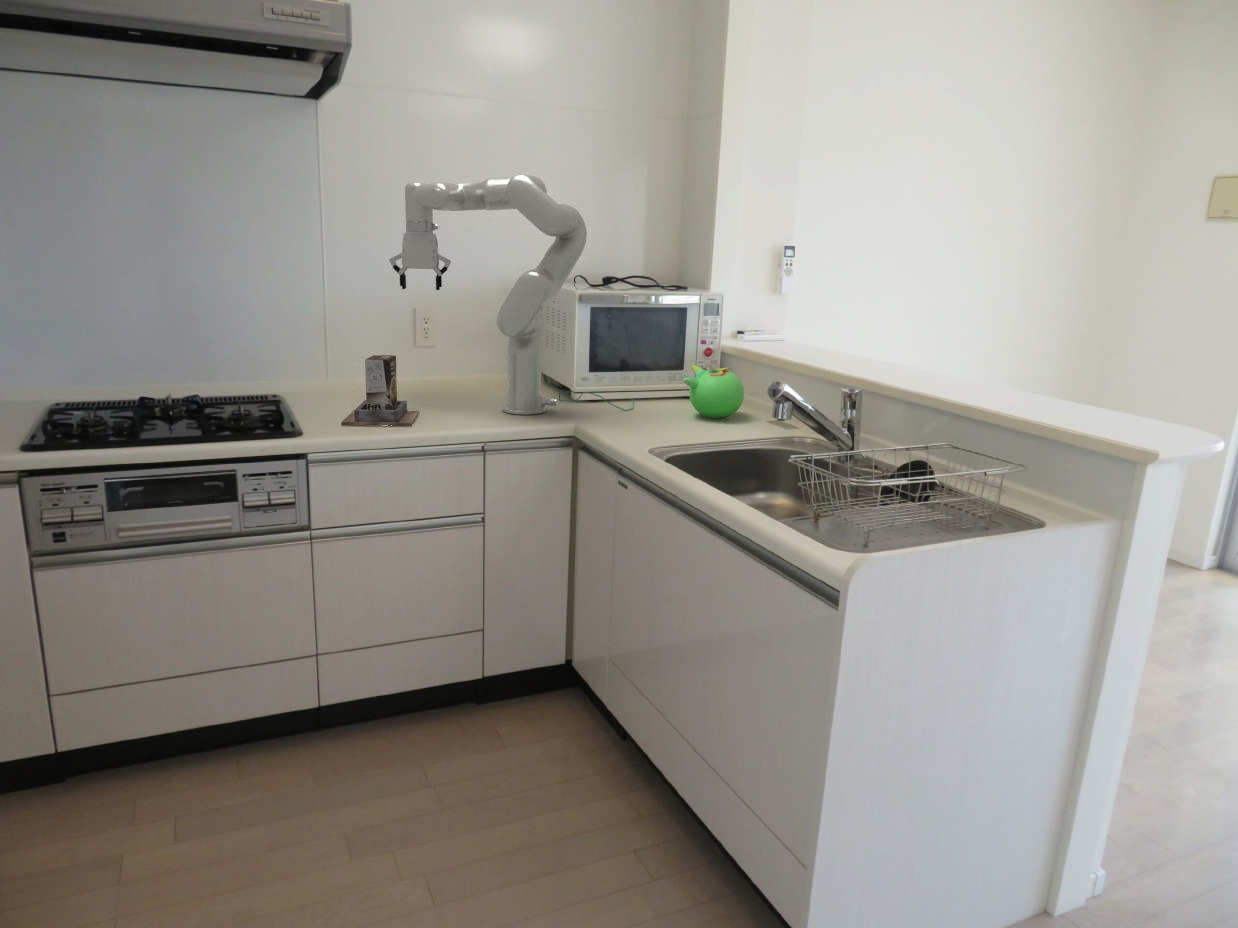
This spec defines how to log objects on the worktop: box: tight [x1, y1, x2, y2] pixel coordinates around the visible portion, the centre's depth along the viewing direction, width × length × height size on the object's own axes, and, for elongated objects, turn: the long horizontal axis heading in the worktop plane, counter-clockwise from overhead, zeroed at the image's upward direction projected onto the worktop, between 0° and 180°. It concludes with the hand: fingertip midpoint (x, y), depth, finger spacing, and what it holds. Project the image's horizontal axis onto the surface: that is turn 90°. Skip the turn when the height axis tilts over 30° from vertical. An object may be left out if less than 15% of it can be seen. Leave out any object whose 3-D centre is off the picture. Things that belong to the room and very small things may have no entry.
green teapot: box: [682, 364, 745, 419], centre depth 260 cm, size 18×17×15 cm
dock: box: [340, 399, 421, 427], centre depth 243 cm, size 18×16×4 cm
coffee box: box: [364, 354, 398, 410], centre depth 242 cm, size 9×6×16 cm
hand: (421, 289), depth 260 cm, fingers open, 9 cm apart
